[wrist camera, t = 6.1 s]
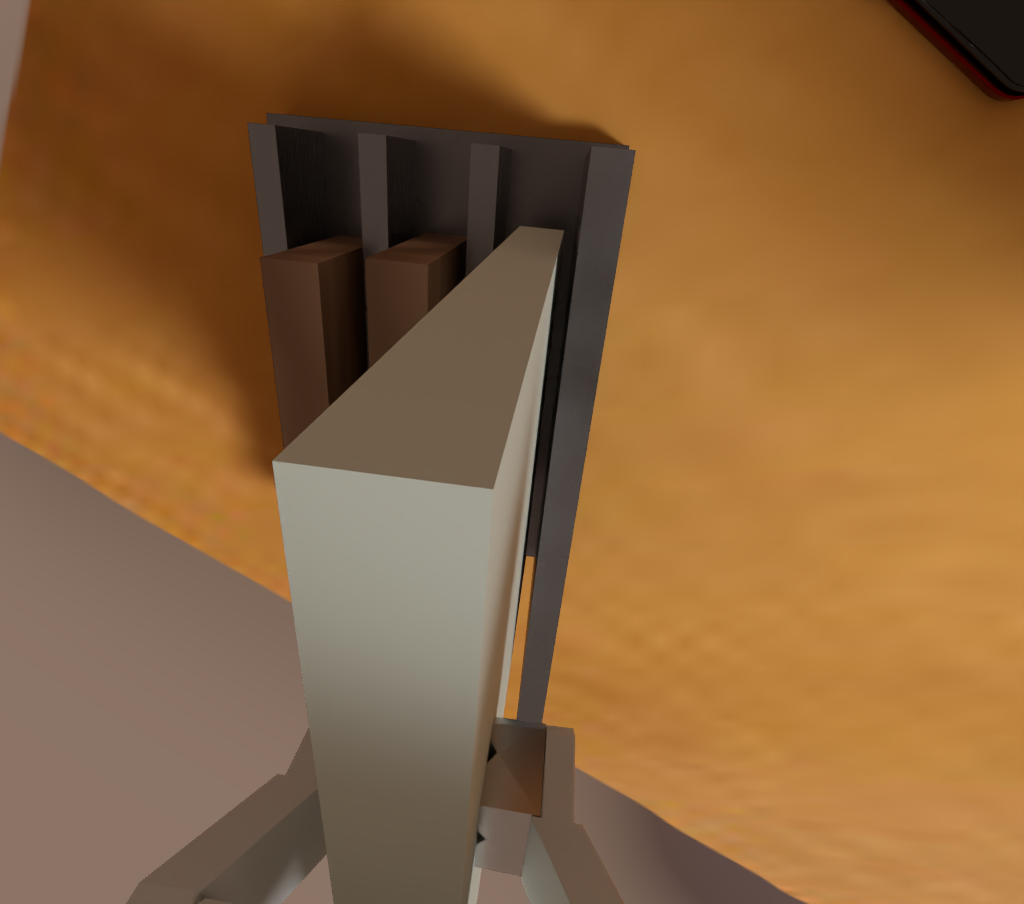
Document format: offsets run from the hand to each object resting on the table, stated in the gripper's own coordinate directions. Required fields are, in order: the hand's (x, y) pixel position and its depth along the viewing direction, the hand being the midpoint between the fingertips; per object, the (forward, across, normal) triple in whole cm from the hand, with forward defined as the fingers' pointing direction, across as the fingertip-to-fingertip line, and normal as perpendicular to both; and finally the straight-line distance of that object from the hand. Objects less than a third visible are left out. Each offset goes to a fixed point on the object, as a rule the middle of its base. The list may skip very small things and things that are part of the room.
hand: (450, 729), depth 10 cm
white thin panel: (+15, 0, 0) cm, 15 cm away
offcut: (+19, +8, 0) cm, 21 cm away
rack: (+20, +5, 0) cm, 21 cm away
